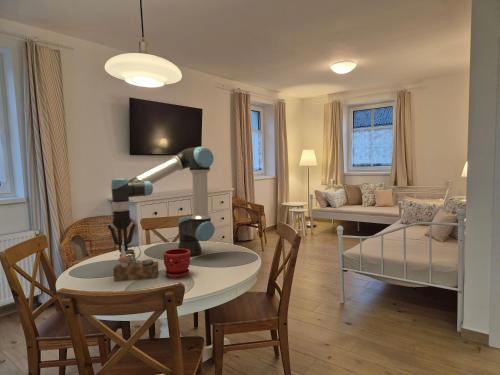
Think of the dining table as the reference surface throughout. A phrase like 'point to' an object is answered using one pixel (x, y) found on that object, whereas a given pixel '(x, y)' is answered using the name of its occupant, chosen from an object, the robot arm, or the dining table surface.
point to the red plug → (124, 261)
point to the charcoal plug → (147, 262)
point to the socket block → (135, 271)
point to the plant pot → (177, 262)
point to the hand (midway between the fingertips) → (123, 257)
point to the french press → (131, 251)
